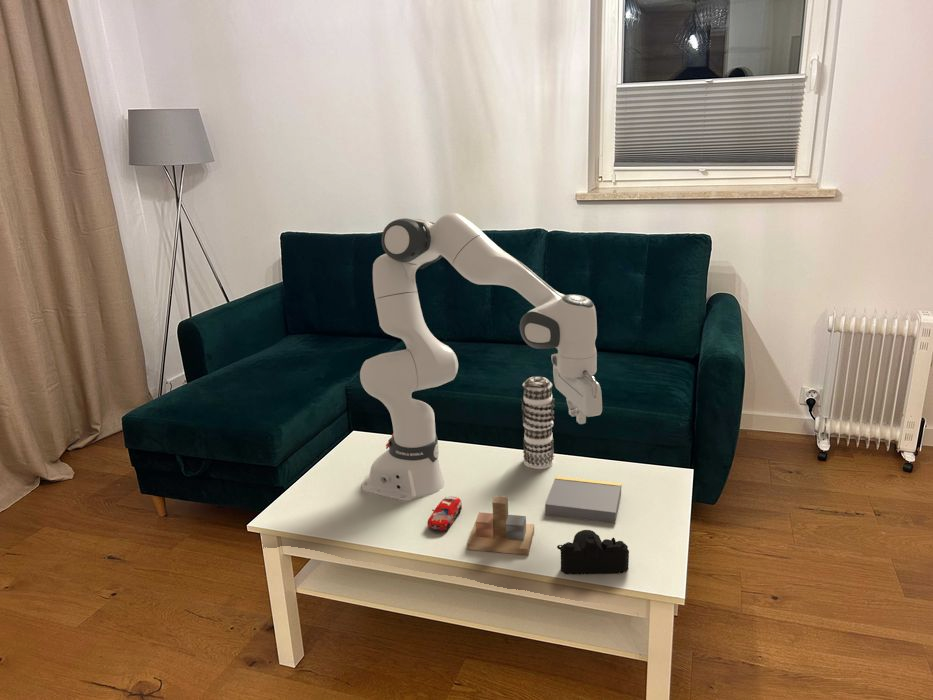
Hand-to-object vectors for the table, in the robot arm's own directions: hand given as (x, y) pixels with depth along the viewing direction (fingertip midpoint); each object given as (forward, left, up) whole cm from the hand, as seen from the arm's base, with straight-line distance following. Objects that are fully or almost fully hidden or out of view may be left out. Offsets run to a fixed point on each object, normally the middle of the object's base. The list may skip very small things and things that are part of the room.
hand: (577, 419), depth 172 cm
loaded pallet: (-15, -19, -25) cm, 34 cm away
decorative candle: (-14, +22, -25) cm, 36 cm away
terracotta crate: (-18, -19, -22) cm, 34 cm away
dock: (+2, +2, -24) cm, 25 cm away
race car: (-29, -16, -26) cm, 43 cm away
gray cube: (-11, -18, -22) cm, 31 cm away
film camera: (+7, -22, -25) cm, 34 cm away
